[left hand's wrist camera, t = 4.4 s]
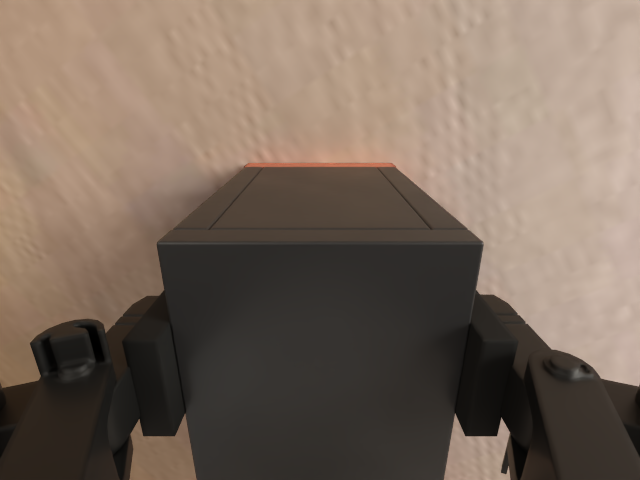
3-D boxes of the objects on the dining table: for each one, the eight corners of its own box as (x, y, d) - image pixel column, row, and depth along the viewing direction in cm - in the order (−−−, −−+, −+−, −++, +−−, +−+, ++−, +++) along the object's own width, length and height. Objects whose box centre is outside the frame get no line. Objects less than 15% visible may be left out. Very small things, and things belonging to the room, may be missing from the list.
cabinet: (374, 420, 23) (414, 656, 13) (265, 420, 23) (225, 656, 13) (391, 163, 18) (486, 241, 8) (248, 163, 18) (154, 241, 8)
